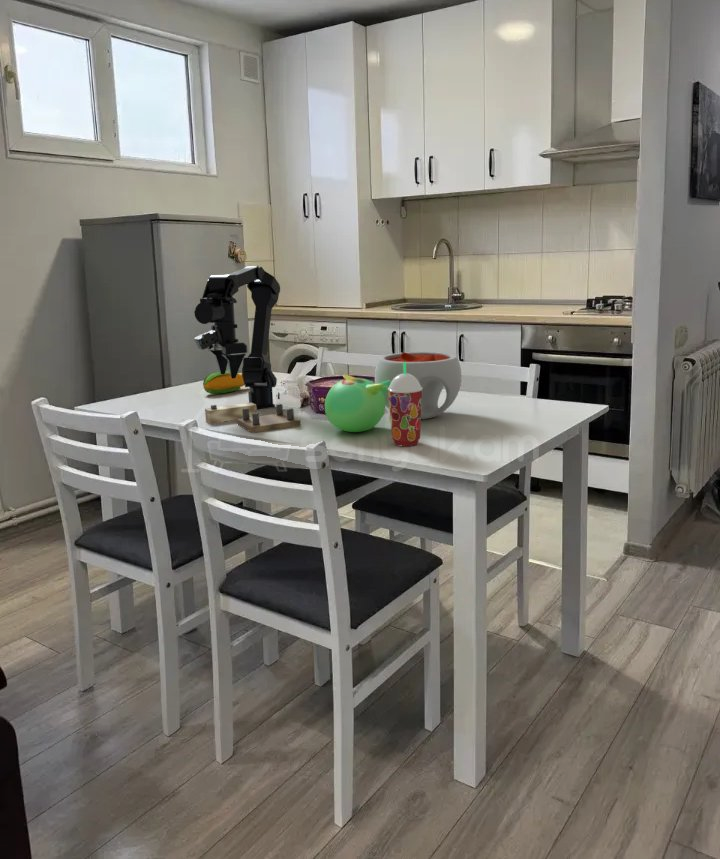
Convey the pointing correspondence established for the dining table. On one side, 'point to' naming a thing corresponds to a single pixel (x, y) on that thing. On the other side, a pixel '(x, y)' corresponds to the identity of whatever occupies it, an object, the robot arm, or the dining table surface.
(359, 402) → the toy bird
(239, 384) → the corn
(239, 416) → the wooden block
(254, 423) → the peg rest
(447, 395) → the pot
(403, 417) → the smoothie
